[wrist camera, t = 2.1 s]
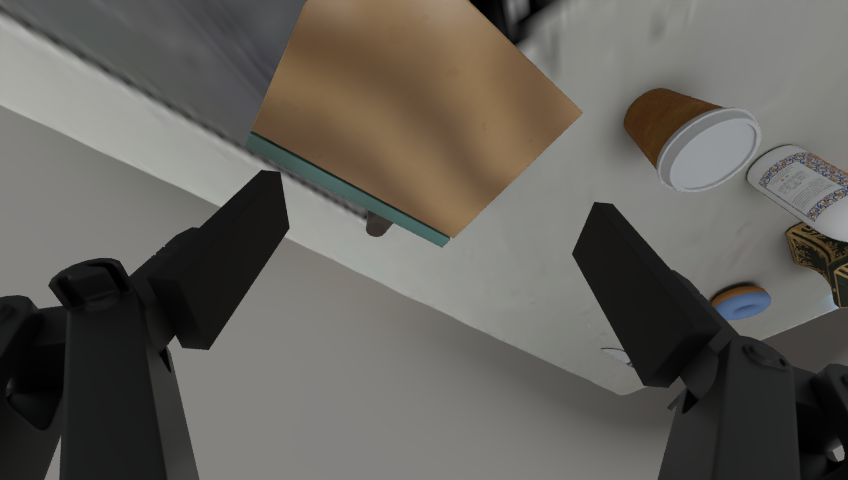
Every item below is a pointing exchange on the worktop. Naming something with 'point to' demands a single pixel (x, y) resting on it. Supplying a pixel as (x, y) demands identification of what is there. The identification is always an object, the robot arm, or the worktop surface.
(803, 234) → the decorative box
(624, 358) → the chef's knife
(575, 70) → the worktop surface
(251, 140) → the door
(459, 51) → the cabinet
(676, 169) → the disposable coffee cup
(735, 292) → the doughnut
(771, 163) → the bath foam
